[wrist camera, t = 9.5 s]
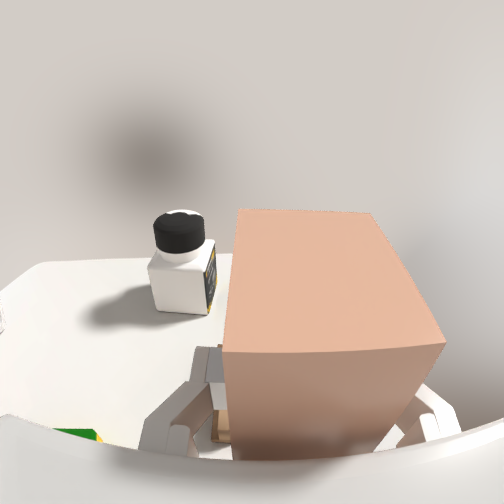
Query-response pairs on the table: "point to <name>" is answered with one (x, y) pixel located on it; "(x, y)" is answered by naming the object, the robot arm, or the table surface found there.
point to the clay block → (320, 336)
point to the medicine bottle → (182, 264)
